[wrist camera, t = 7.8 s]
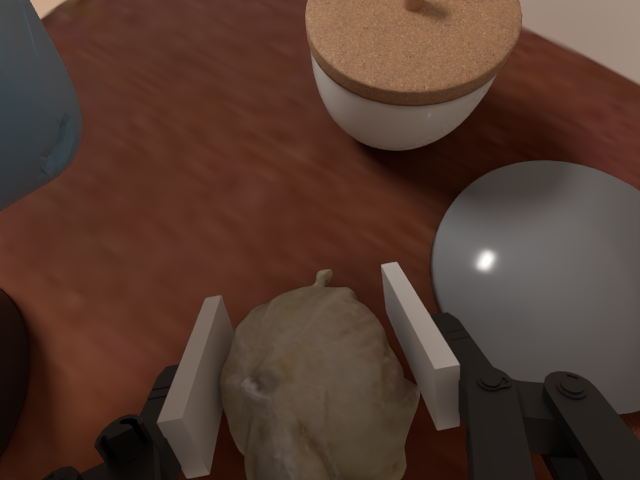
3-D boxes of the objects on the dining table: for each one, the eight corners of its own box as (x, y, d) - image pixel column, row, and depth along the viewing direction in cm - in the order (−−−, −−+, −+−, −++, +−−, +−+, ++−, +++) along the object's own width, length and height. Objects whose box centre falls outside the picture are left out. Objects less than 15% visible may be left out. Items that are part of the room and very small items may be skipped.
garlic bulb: (361, 459, 19) (395, 692, 9) (222, 400, 20) (111, 567, 10) (425, 304, 19) (528, 373, 9) (284, 246, 19) (239, 254, 9)
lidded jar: (500, 108, 24) (591, -41, 15) (400, 210, 22) (439, 105, 13) (383, 35, 27) (403, -125, 18) (284, 118, 25) (253, -18, 16)
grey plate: (475, 436, 17) (484, 441, 16) (403, 192, 22) (406, 183, 21) (747, 384, 17) (775, 384, 16) (615, 153, 22) (630, 141, 21)
